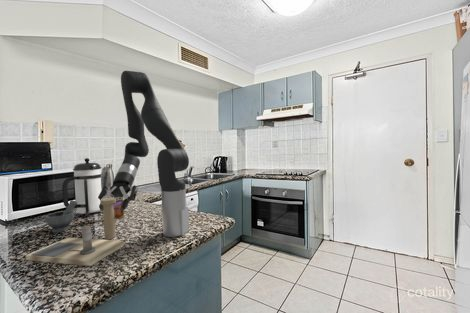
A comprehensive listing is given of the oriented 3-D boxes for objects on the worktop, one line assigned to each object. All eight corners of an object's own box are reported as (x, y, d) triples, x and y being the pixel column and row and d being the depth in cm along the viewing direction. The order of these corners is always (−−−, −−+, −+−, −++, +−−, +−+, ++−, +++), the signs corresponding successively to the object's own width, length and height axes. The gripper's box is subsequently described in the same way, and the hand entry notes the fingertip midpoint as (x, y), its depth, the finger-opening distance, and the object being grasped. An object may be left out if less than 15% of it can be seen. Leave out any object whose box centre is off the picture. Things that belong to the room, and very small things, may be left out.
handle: (114, 233, 90) (112, 196, 89) (119, 238, 85) (117, 199, 84) (100, 237, 86) (98, 199, 86) (105, 242, 82) (103, 201, 81)
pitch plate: (124, 245, 79) (122, 218, 78) (91, 265, 65) (89, 233, 65) (67, 241, 84) (66, 216, 83) (26, 260, 70) (23, 230, 70)
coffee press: (77, 211, 125) (73, 158, 124) (109, 208, 130) (106, 157, 129) (63, 221, 109) (59, 159, 108) (100, 217, 114) (97, 158, 113)
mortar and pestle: (46, 235, 90) (44, 206, 90) (46, 229, 97) (44, 202, 97) (80, 228, 97) (78, 201, 97) (77, 223, 105) (76, 198, 104)
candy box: (103, 221, 106) (101, 189, 106) (103, 219, 110) (101, 188, 109) (124, 217, 111) (122, 187, 111) (123, 215, 115) (121, 186, 114)
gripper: (105, 171, 96) (89, 204, 85) (138, 170, 95) (125, 204, 84) (113, 181, 101) (98, 214, 90) (144, 181, 101) (133, 213, 90)
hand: (112, 209), depth 87 cm, fingers open, 8 cm apart
